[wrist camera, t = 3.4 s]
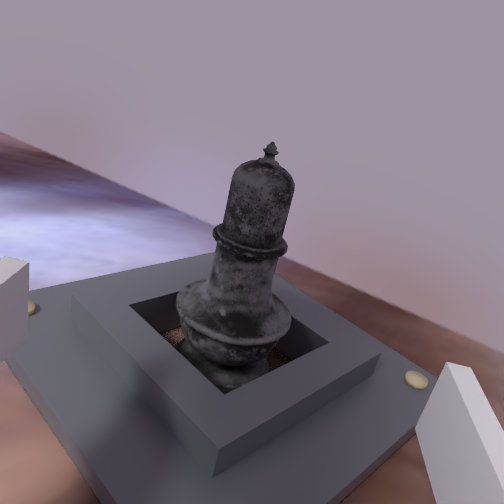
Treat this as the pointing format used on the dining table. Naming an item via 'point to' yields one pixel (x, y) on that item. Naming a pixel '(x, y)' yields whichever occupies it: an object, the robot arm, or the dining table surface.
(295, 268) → the dining table surface
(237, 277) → the salt shaker
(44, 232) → the dining table surface
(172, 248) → the dining table surface
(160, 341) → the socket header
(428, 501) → the dining table surface
